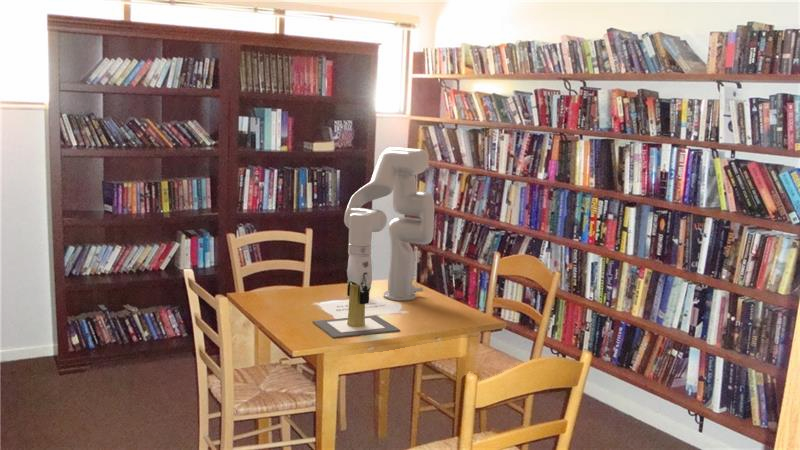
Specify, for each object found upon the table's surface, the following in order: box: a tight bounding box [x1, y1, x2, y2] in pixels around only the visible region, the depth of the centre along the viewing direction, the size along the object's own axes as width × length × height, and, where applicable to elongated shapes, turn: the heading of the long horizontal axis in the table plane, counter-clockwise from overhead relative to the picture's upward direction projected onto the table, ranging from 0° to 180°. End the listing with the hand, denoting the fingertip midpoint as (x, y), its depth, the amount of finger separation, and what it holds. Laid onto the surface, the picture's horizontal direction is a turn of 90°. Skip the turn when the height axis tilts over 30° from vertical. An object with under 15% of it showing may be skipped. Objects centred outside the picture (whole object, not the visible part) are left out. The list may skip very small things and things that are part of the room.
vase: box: [347, 282, 366, 327], centre depth 244 cm, size 6×6×14 cm
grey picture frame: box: [312, 314, 401, 339], centre depth 245 cm, size 24×18×1 cm
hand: (357, 299), depth 245 cm, fingers open, 9 cm apart
